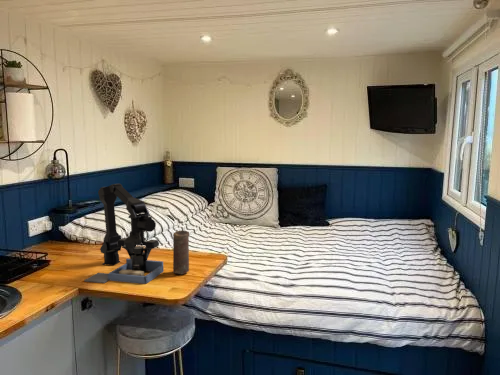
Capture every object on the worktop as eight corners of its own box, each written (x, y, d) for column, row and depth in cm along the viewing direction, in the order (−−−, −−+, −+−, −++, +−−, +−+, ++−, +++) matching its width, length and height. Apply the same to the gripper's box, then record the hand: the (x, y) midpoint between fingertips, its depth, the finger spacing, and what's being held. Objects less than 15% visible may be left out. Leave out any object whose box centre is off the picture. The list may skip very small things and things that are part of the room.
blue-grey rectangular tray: (107, 280, 171) (107, 269, 171) (127, 268, 187) (127, 258, 187) (146, 283, 167) (145, 272, 166) (163, 271, 183) (163, 261, 182)
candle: (192, 271, 182) (191, 230, 180) (184, 276, 176) (183, 234, 173) (178, 269, 185) (177, 229, 182) (170, 274, 178) (169, 233, 176)
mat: (84, 281, 170) (84, 280, 170) (98, 273, 180) (98, 272, 180) (103, 283, 168) (103, 282, 168) (117, 275, 177) (116, 274, 177)
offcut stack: (116, 279, 173) (115, 271, 172) (119, 277, 176) (119, 269, 175) (141, 282, 170) (141, 273, 169) (145, 279, 173) (144, 271, 172)
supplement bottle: (133, 275, 175) (132, 250, 173) (130, 271, 181) (129, 246, 179) (148, 273, 178) (147, 248, 176) (145, 268, 184) (144, 244, 182)
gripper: (109, 231, 171) (111, 264, 173) (147, 233, 167) (148, 268, 169) (123, 225, 182) (124, 257, 184) (159, 228, 177) (160, 260, 179)
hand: (138, 260), depth 179 cm, fingers closed on supplement bottle, 7 cm apart
